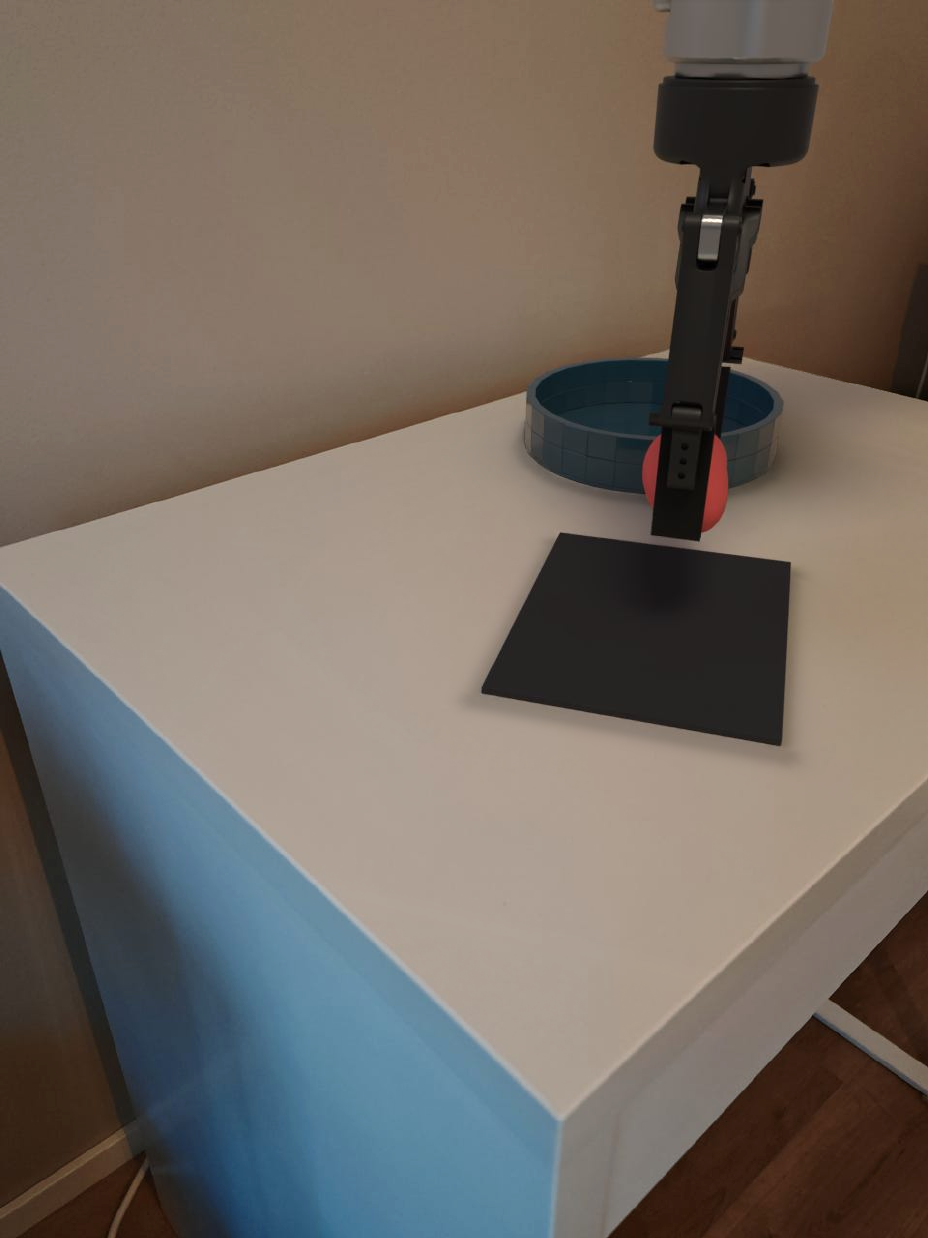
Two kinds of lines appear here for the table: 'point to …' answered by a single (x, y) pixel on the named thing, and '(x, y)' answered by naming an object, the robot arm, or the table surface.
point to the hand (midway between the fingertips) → (685, 498)
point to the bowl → (636, 421)
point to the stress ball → (716, 482)
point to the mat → (653, 637)
